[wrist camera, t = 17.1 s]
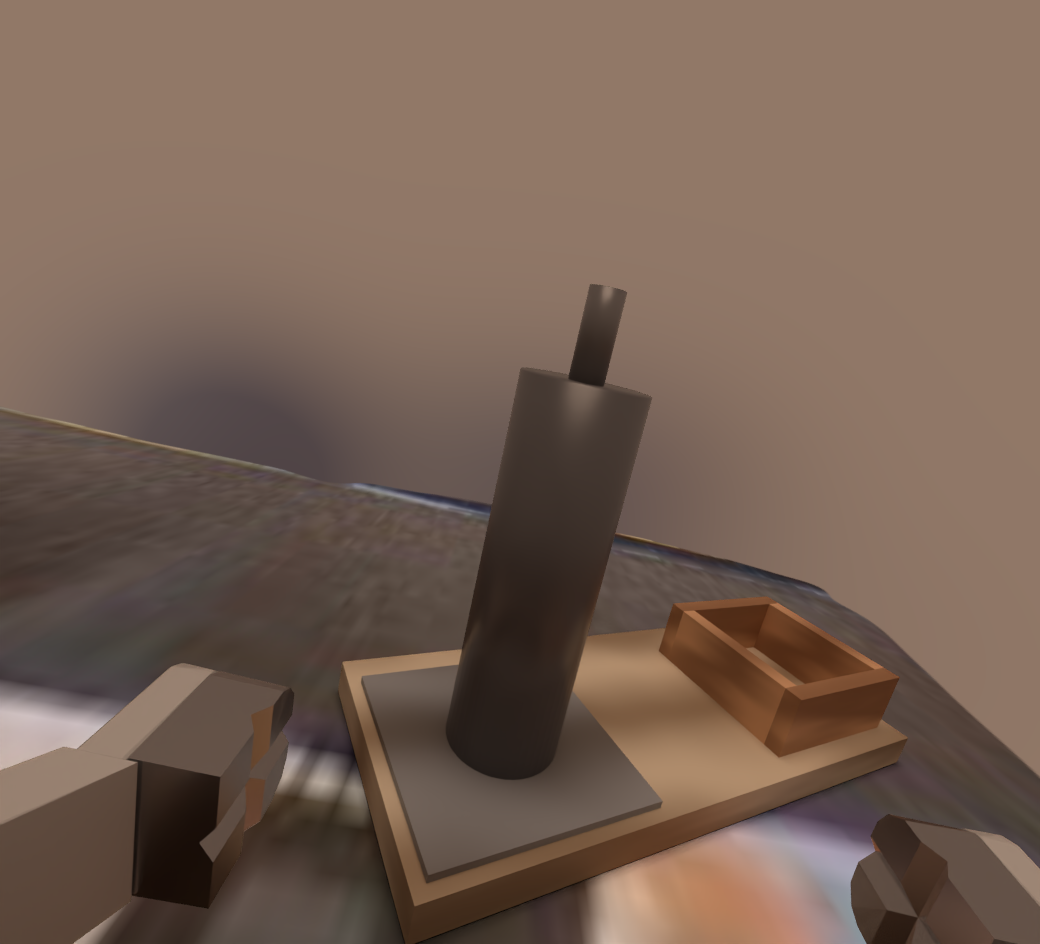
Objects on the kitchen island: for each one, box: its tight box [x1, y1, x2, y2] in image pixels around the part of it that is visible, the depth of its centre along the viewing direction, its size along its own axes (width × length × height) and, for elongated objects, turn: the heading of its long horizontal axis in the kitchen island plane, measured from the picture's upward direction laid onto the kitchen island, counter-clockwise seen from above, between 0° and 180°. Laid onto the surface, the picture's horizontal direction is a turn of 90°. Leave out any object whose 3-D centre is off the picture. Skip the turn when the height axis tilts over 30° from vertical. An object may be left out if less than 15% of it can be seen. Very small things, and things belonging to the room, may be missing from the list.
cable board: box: [338, 597, 908, 944], centre depth 26 cm, size 11×26×4 cm, turn 117°
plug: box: [446, 284, 652, 780], centre depth 19 cm, size 4×4×17 cm
